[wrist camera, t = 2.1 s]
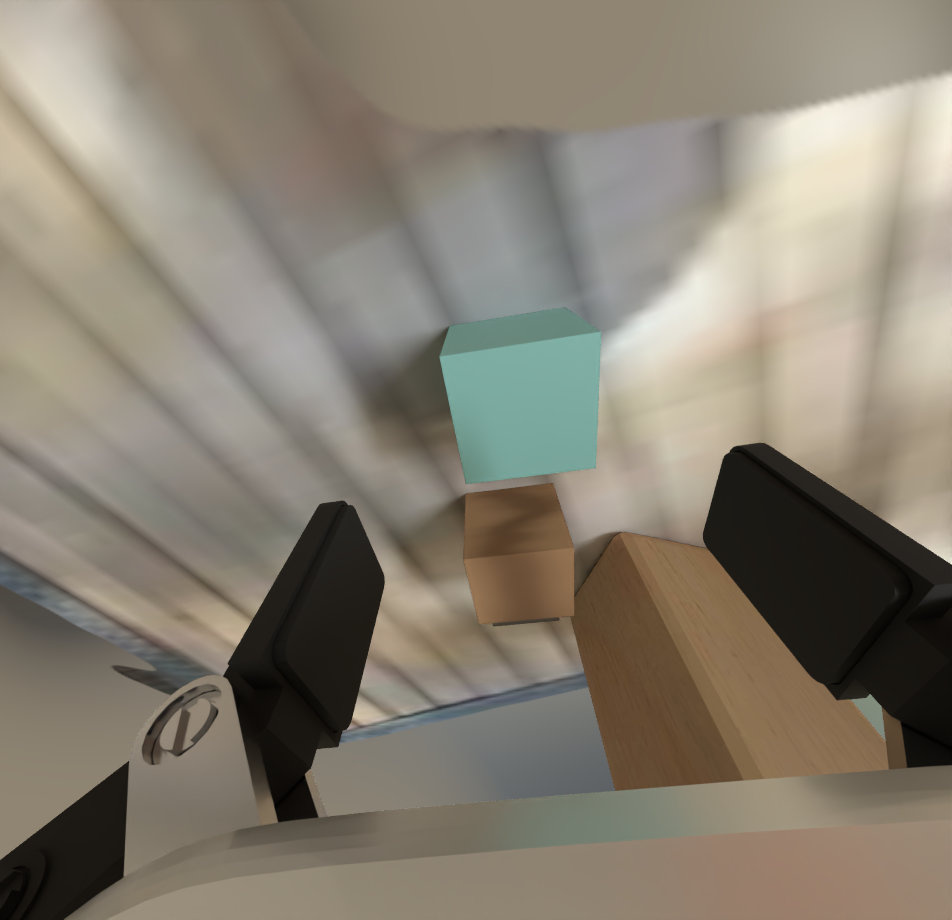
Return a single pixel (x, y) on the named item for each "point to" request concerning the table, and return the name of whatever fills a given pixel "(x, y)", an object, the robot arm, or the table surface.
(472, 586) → the walnut cube
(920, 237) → the table surface
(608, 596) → the wooden block
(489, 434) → the teal cube
